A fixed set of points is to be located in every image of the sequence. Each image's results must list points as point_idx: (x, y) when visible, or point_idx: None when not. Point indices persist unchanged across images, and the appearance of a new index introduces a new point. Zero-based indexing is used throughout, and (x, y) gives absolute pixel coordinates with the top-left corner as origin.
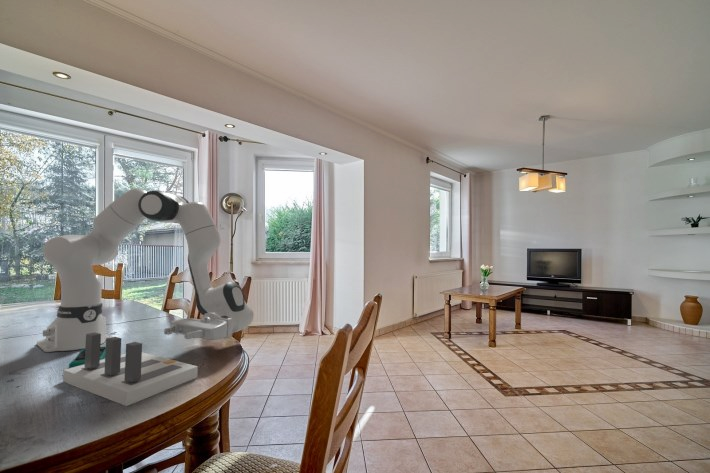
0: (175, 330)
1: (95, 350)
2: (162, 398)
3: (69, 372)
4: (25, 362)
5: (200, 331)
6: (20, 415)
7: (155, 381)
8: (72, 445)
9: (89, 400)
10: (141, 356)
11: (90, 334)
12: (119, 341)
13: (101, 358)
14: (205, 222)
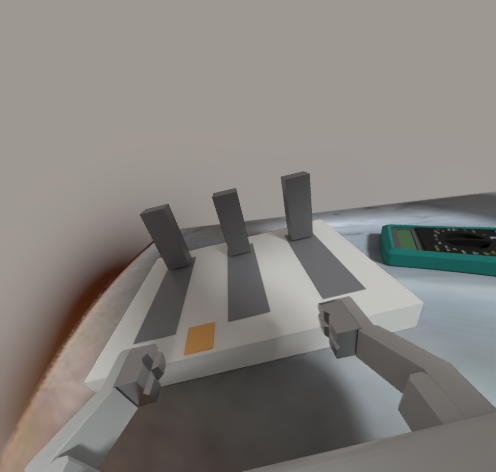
0: (400, 400)
1: (286, 208)
2: (130, 303)
3: None
4: (483, 202)
5: (34, 464)
6: None
7: (143, 285)
8: (153, 245)
9: None
10: (151, 236)
11: (294, 174)
12: (214, 202)
13: (403, 253)
14: None
